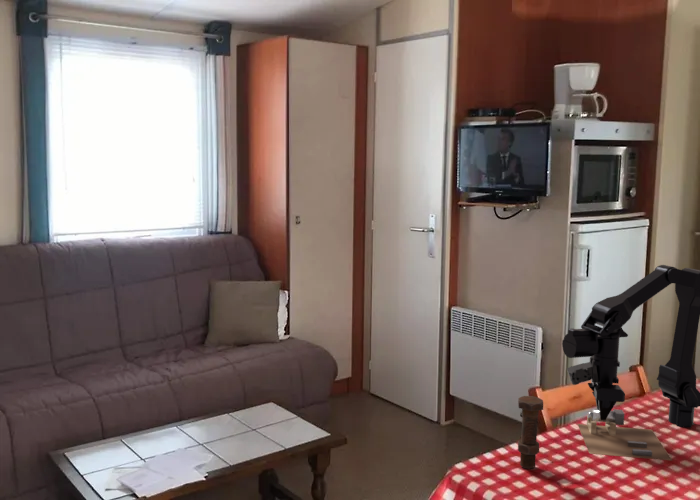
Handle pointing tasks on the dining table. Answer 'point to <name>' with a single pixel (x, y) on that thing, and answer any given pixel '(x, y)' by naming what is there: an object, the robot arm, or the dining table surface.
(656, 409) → the dining table surface
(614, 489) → the dining table surface
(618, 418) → the grey piece
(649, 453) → the socket
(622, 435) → the board
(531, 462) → the bolt
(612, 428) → the rack
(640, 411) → the dining table surface
